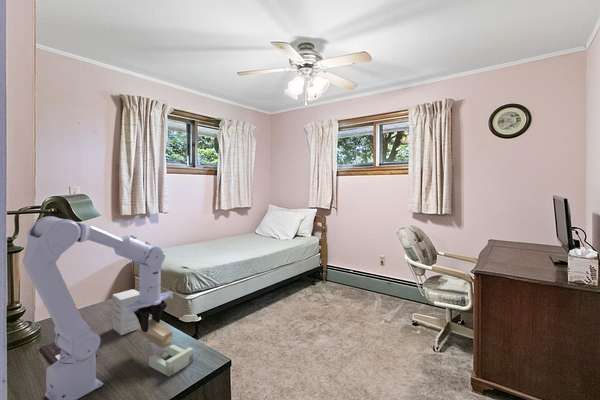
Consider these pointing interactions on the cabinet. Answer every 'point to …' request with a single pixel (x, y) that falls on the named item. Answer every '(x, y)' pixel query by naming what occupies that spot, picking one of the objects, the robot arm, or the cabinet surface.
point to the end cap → (172, 360)
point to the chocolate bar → (52, 352)
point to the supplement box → (120, 319)
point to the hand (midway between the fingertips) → (150, 328)
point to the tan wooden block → (156, 333)
